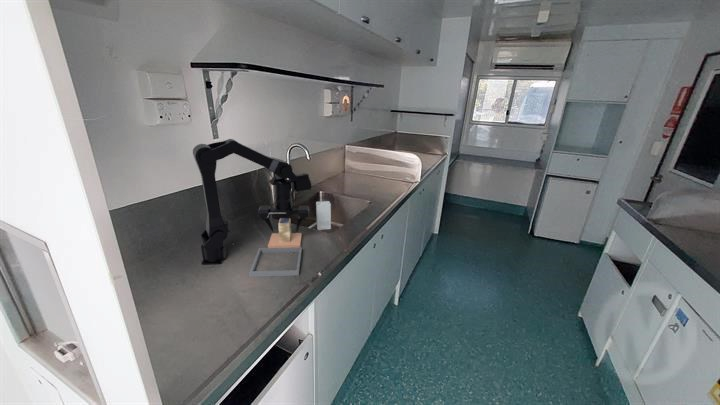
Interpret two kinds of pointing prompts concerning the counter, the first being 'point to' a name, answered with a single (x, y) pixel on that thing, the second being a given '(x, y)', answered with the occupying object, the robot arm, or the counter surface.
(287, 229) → the birch label block
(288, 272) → the grey picture frame
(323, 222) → the skincare box
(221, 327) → the counter surface
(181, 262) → the counter surface
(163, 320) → the counter surface
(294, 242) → the terracotta tile
